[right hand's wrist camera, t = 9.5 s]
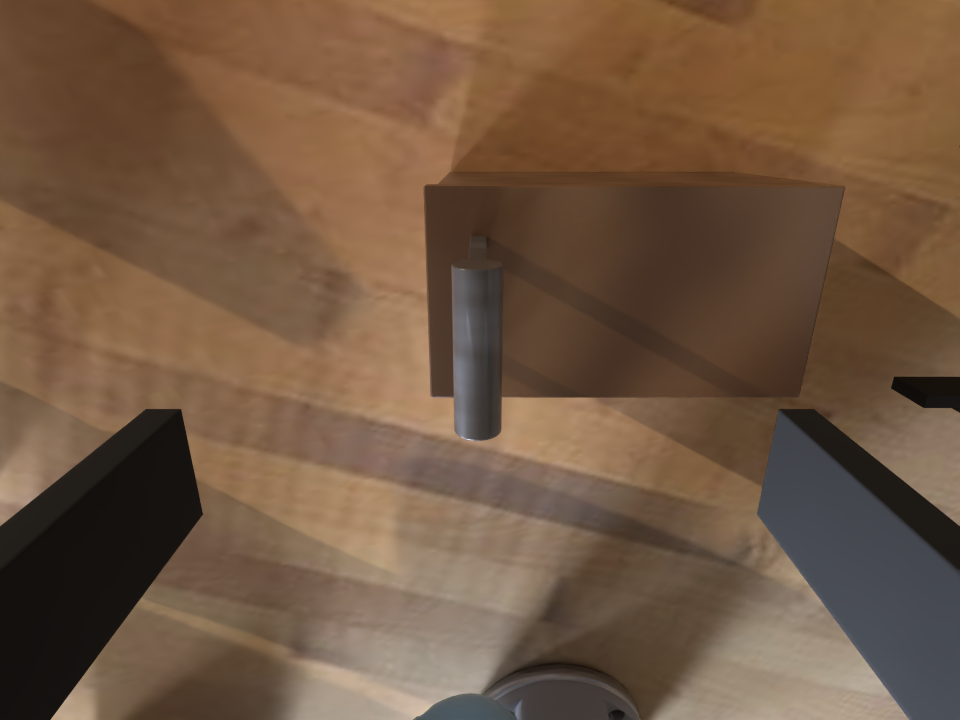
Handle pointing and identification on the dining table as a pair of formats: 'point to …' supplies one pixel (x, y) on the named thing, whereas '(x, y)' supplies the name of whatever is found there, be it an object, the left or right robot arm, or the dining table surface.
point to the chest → (612, 178)
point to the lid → (621, 291)
